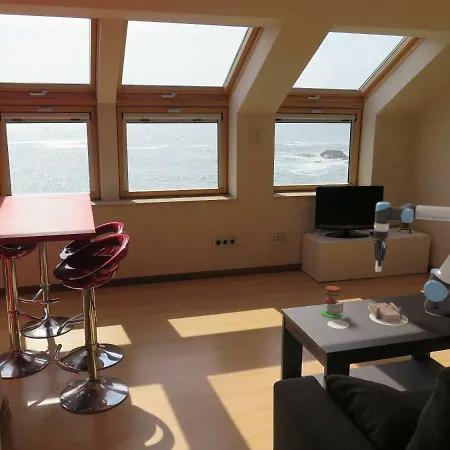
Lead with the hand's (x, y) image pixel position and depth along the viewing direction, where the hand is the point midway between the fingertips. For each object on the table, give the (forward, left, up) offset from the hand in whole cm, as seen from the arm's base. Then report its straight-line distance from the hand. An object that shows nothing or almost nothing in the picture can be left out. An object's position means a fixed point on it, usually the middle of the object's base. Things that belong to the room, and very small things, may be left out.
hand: (378, 271), depth 277 cm
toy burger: (+29, +11, -21) cm, 37 cm away
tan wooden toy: (0, +12, -20) cm, 24 cm away
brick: (0, +15, -21) cm, 26 cm away
